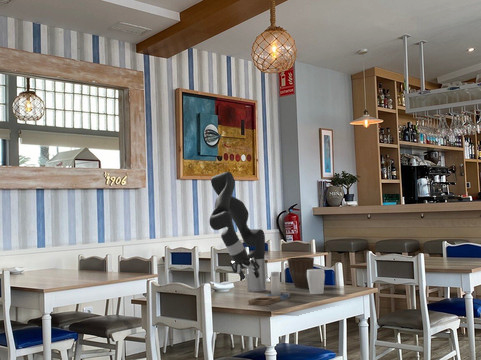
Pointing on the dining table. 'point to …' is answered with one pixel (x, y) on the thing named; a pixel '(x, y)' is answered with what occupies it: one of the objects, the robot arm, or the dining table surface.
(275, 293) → the salt mill
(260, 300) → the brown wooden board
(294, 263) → the plant pot
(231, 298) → the dining table surface
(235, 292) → the dining table surface
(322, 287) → the cup
